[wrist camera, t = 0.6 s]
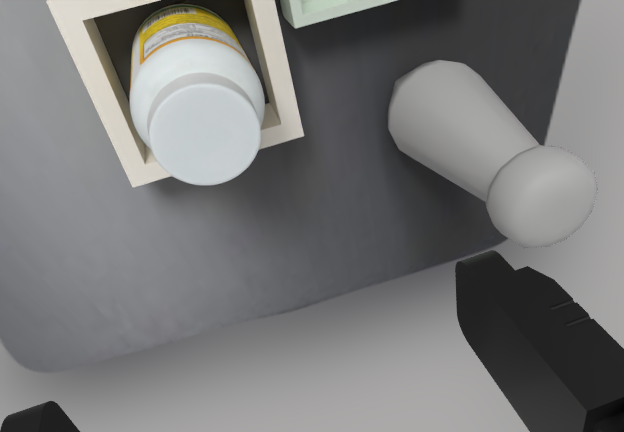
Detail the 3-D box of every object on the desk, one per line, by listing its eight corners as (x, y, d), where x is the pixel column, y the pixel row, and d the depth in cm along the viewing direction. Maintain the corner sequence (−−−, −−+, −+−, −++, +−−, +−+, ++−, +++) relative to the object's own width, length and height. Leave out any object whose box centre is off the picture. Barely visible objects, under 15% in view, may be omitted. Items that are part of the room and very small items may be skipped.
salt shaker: (358, 84, 30) (478, 202, 19) (446, 28, 29) (616, 118, 19) (395, 159, 33) (514, 293, 23) (474, 110, 33) (631, 224, 22)
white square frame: (55, -13, 23) (46, 1, 21) (250, -62, 24) (262, -54, 22) (133, 161, 29) (132, 187, 26) (290, 114, 30) (304, 136, 27)
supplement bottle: (159, -21, 24) (170, 31, 17) (259, 36, 27) (308, 105, 19) (113, 80, 26) (103, 169, 18) (210, 125, 29) (237, 220, 21)
